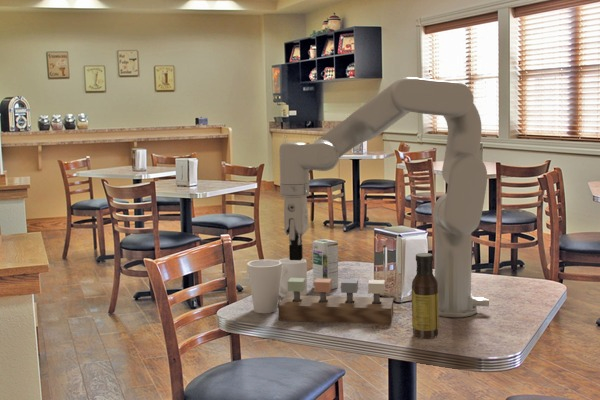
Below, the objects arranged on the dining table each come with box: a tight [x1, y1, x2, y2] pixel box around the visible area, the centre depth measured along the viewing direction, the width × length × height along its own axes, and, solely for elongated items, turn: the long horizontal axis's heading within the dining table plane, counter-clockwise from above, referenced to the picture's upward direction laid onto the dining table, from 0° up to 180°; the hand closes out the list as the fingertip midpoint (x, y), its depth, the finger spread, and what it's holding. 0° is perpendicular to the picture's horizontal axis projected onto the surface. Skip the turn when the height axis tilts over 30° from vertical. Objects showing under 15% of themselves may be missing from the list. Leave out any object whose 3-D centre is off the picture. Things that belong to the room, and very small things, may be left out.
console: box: [277, 295, 394, 325], centre depth 196 cm, size 29×10×4 cm, turn 80°
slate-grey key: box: [340, 278, 359, 303], centre depth 195 cm, size 4×4×7 cm
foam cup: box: [246, 258, 282, 314], centre depth 203 cm, size 10×9×13 cm
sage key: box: [288, 278, 306, 302], centre depth 197 cm, size 4×4×7 cm
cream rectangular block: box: [367, 279, 386, 304], centre depth 193 cm, size 4×4×7 cm
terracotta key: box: [313, 278, 333, 303], centre depth 196 cm, size 4×4×7 cm
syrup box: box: [311, 238, 339, 290], centre depth 225 cm, size 6×6×14 cm
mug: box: [278, 257, 308, 299], centre depth 216 cm, size 12×8×10 cm
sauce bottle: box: [411, 252, 440, 340], centre depth 178 cm, size 6×6×20 cm
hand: (296, 259), depth 196 cm, fingers closed
